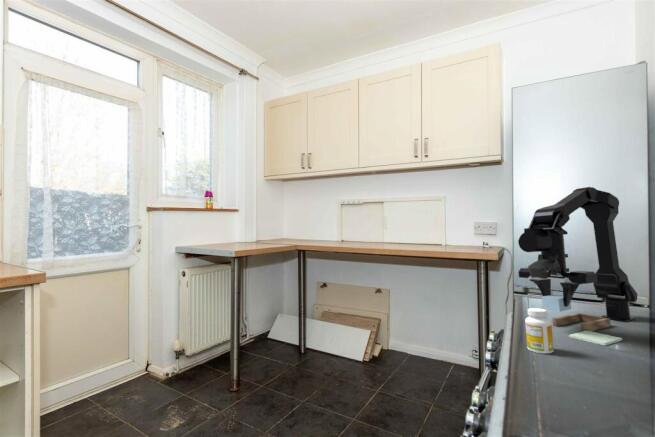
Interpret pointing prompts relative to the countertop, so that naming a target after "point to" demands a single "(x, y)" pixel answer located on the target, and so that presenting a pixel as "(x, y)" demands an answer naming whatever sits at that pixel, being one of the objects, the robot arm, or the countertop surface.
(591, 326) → the u-shaped frame
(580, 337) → the mat
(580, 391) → the countertop surface
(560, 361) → the countertop surface
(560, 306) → the block
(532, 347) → the supplement bottle
